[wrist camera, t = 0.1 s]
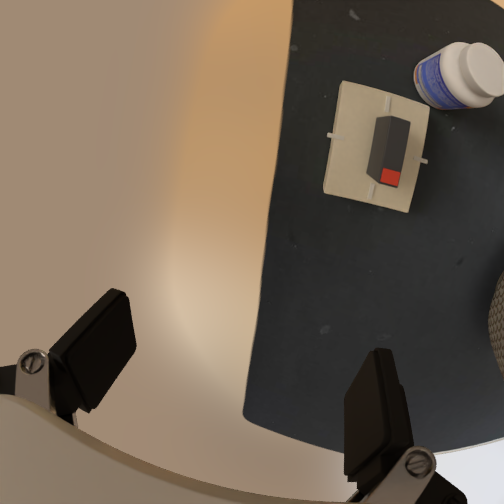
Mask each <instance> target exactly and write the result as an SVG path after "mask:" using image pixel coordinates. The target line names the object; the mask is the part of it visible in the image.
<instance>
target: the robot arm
mask: <svg viewBox="0 0 504 504" xmlns="http://www.w3.org/2000/svg"><path fill="white" fill-rule="evenodd" d="M136 346H137V345H136V339H135V333H134V328H133V322H132V316H131V309H130V302H129V298H128V297H127V296H126V293H125V292H123V291H120V290H117V289H114V288H111V289H110V290H108V291H107V293H106V294H104V295H103V296H102V297H101V298H100V299H99V300H98V301H97V302H96V303H95V304H94V305H93V306H92V307H91V308H90V309H89V310H88V311H87V312H86V313H85V314H84V315H83V316H82V317H81V318H80V319H79V320H78V321H77V322H76V323H75V324H74V325H73V326H72V327H71V328H70V329H69V330H68V331H67V332H66V333H65V334H64V335H63V336H62V337H61V338H60V339H59V340H58V341H57V342H56V343H55V344H54V345H53V346H52V347H51V348H50V350H49V351H50V352H49V353H48V354H46V353H45V352H44V351H43V350H39V349H31V350H28V351H26V352H24V353H23V354H22V355H21V356H20V358H19V360H18V362H17V364H16V365H10V366H4V367H0V504H467V498H466V496H465V495H464V493H463V492H461V491H460V490H459V489H458V488H456V487H455V486H454V485H452V484H451V483H450V482H449V481H447V480H446V479H445V478H443V477H442V476H441V475H440V474H438V473H437V472H436V471H435V470H436V459H435V456H434V454H433V453H432V452H431V451H430V450H429V449H428V448H426V447H424V446H414V442H413V435H412V429H411V423H410V418H409V412H408V407H407V402H406V397H405V392H404V389H403V386H402V385H401V384H399V380H398V375H397V371H396V367H395V362H394V358H393V354H392V351H391V350H390V349H383V348H375V350H374V351H370V352H369V354H368V355H367V357H366V359H365V361H364V363H363V365H362V367H361V368H360V370H359V372H358V374H357V376H356V377H355V379H354V381H353V383H352V384H351V386H350V388H349V389H348V391H347V393H346V395H345V398H344V475H347V476H348V482H357V489H358V490H357V491H356V492H355V493H354V494H353V495H352V496H351V497H350V498H349V499H348V500H347V501H346V502H323V501H309V500H298V499H288V498H280V497H273V496H266V495H260V494H254V493H249V492H243V491H239V490H234V489H230V488H226V487H221V486H217V485H214V484H210V483H206V482H202V481H198V480H196V479H192V478H189V477H186V476H183V475H180V474H177V473H174V472H171V471H168V470H166V469H163V468H160V467H157V466H155V465H152V464H150V463H147V462H145V461H142V460H140V459H138V458H135V457H133V456H131V455H129V454H126V453H124V452H122V451H120V450H118V449H116V448H114V447H112V446H109V445H107V444H106V443H103V442H102V441H100V440H98V439H96V438H94V437H92V436H91V435H89V434H87V433H85V432H83V431H81V430H80V429H78V425H77V419H76V410H77V409H78V408H80V409H82V410H83V411H85V412H87V413H90V411H91V409H95V408H96V407H97V406H98V405H99V403H100V402H101V400H102V399H103V397H104V396H105V394H106V393H107V391H108V390H109V388H110V387H111V386H112V384H113V383H114V381H115V379H116V378H117V377H118V375H119V374H120V372H121V371H122V370H123V368H124V367H125V365H126V364H127V362H128V361H129V359H130V358H131V357H132V355H133V354H134V352H135V350H136Z"/></svg>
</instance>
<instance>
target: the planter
mask: <svg viewBox="0 0 504 504" xmlns="http://www.w3.org/2000/svg"><path fill="white" fill-rule="evenodd" d="M488 332H489V337H490V342H491V345H492V348H493V351H494V354H495V357H496V360H497V363H498V366H499V368H500V371H501V374H502V376H503V379H504V271H503V272H502V274H501V276H500V278H499V280H498V282H497V285H496V288H495V293H494V296H493V299H492V301H491V305H490V309H489V316H488Z"/></svg>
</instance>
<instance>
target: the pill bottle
mask: <svg viewBox="0 0 504 504" xmlns="http://www.w3.org/2000/svg"><path fill="white" fill-rule="evenodd" d="M414 82H415V86H416V89H417V91H418V93H419V94H420V96H421V97H422V99H423V100H424V101H425V102H426V103H427V104H429V105H430V106H432V107H434V108H436V109H440V110H451V109H463V108H479V107H485V106H487V105H489V104H490V103H491V102H492V101H493V99H494V97H498V96H501V95H503V94H504V62H503V61H502V59H501V58H500V56H499V55H498V54H497V52H496V51H494V50H493V49H492V48H491V47H489V46H488V45H486V44H483V43H474V44H471V45H470V44H467V43H463V42H456V43H452V44H450V45H448V46H446V47H444V48H443V49H441V50H439V51H437V52H436V53H434V54H432V55H430V56H429V57H427V58H425V59H423V60H422V61H420V62H419V63H418V64H417V66H416V68H415V71H414Z"/></svg>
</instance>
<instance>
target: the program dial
mask: <svg viewBox="0 0 504 504" xmlns="http://www.w3.org/2000/svg"><path fill="white" fill-rule="evenodd" d="M410 124H411V122H410V121H407V120H404V119H401V118H398V117H395V116H392V115H391V116H383V117H377V118H376V123H375V129H374V135H373V141H372V146H371V152H370V157H369V162H368V167H367V171H366V174H368V175H369V176H370V177H371V178H372V179H374V180H375V181H376V182H377V183H379V184H382V185H386V186H390V187H394V188H398V184H399V180H400V176H401V171H402V167H403V162H404V157H405V152H406V147H407V142H408V136H409V130H410Z"/></svg>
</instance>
